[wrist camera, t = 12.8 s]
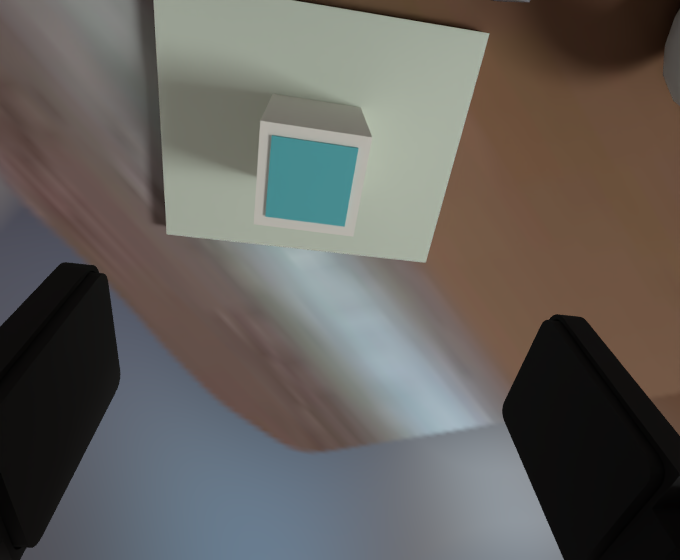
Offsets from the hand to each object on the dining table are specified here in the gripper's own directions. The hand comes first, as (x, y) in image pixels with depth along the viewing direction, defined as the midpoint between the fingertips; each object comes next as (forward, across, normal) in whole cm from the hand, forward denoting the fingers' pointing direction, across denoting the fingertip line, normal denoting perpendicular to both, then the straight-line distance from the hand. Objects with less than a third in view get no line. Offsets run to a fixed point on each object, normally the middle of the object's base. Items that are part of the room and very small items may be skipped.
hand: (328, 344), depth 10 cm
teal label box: (+17, 0, +1) cm, 17 cm away
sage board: (+18, 0, +1) cm, 18 cm away
